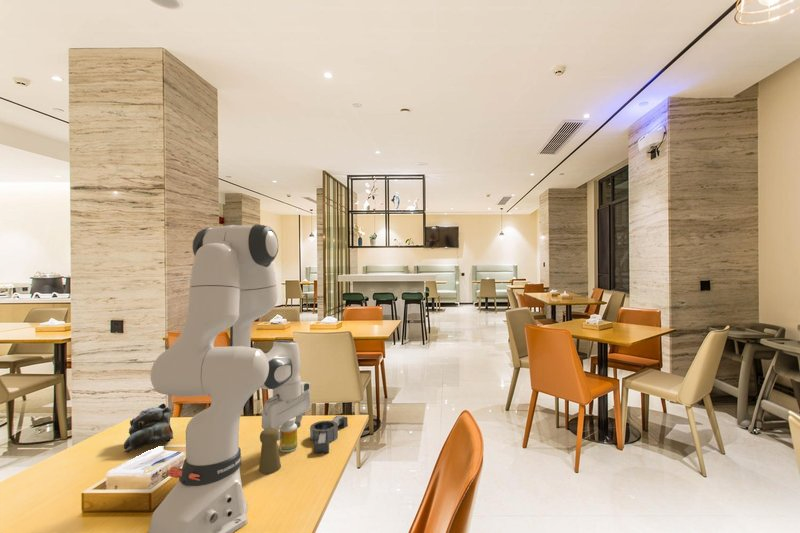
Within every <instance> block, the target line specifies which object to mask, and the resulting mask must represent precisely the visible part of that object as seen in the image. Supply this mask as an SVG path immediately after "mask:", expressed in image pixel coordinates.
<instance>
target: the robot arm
mask: <svg viewBox="0 0 800 533" xmlns="http://www.w3.org/2000/svg"><path fill="white" fill-rule="evenodd" d="M191 248H192V252H193V256H194V258H193V261H192V262H193V263H192V268H191V274H190V281H189V293H188V295H189V296H188V305H187V311H186V312H187V314H186V319H185V323H184V324H183V328H182V330H181V331H180V334H179V335H178V336H177V338H176V340H175V341H174V342H173V343H172V345H171V346H170V347H168V348H167V349H166V350H164V351H163V352H161V354H159V355H158V357H157V358H156V359H155V361H154V363H153V364H152V365H151V369H150V374H149V375H150V376H149V377H150V382H151V386H152V387H153V389H154V390H155V391H156V392H157V393H159V394H162V395H168V396H173V397H180V398H181V397H203V396H208V397H210V406H209V407H207V408H205V409H203V410H201V411H200V412H198V413H196V414H195V415H194V416H192V418H191V419H189V421H188V423H187V425H186V429H185V458H184V460H183V464H182V467H181V468H180V467H177V466H172V467H170V468H169V471H168V477H169V478H175V479H178V481H177V482H176V483H175V485H174V486H173V487H172V488H171V490H170V491H169V492H168V494H167V495H166V496H165V497H164V499H163V500H162V501H161V502H160V504H159V505H158V506H157V507H156V509H154V511H153V513H152V515H151V517H150V518H151V519H150V522H149V530H148V532H147V533H234V532H236V531H237V530H239V529H241V528H242V527H243V526H245V525H246V524H247V523H248V517H247V511H248V503H247V500H246V498H245V495H244V490H243V483H242V479H241V470H240V469H241V468H240V467H241V465H242V452H241V448H240V447H239V446H240V444H239V442H240V441H239V437H240V435H239V434H240V433H239V432H240V421H241V420H240V419H241V414H242V412H243V410H244V407H245V405H246V403H247V401H249V399H250V398H251V397H252V396H253V395H254V394H255V393H256V392H257V391H259V390H260V389H264V390H272V397H269V398H267V399H266V402H265V403H264V405H263V407H262V413H261V428H262V429H263V430H265V429H269V428H274V429H277V431H278V433H279V437H278V440H277V442H278V441H279V442H280V439H282V433H280V427H281V425H283V424H284V423H286V422H288V421H289V420H291V419H293V418H295V424H296V425H297V429H299V428H301V426H302V419H303V416H304V412H306V411H308V410H309V409H310V407H311V403H312V402H311V399H312V398H311V397H312V396H311V391H310V390H311V386H312V385H311V384H312V383H311V382H307V381H302V378H301V375H300V374H301V373H300V372H301V371H300V370H301V363H302V362H301V352H300V346H299V344H298V342H297V341H295V340H287V339H285V340H284V339H278V340H275V341H273V344H272V348H271V349H270V350H269V351H268V352H266V353H265V352H264V351H263V350H262V349H260V348H256V347H251V342H252V341H251V334H252V333H251V332H252V331H251V330H252V326H253V323H254V322H255V321H257V320H258V319H259V318H262V317H263V316H266V315H267V314H269V313H270V312H271V311H273V309H274V308H275V307H276V306H277V305H276V304H277V302H278V288H277V287H278V286H277V279H276V272H275V270H274V269H275V268H274V264H273V261H274V260H276V258H277V255H278V252H279V241H278V237H277V234H276V232H275V231H274V230H273V229H272V228H271V227H270V226H268V225H264V224H254V225H250V224H248V225H243V224H242V225H241V224H240V225H239V224H238V225H237V224H228V225H222V226H215V227H211V226H210V227H206V228H204V229H200V230H199V231H198V232H197V233H196V235H195V237H194V238H193V241H192V247H191ZM228 329H229V330H230V331H229V346H214V344H215V341H216V339H217V337H218V335H219V334H220V333H223V332H224V331H226V330H228Z"/></svg>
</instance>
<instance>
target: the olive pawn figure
mask: <svg viewBox="0 0 800 533" xmlns="http://www.w3.org/2000/svg"><path fill="white" fill-rule="evenodd" d="M278 437H279V433H278V431H277V429H274V428H269V429H265V430H264V429H263V430H262V431H261V432H260V435H259V441H260V443H261V449H260V458H259V467H258V472H259V473H260V474H263V475H268V474H273V473H276V472H278V471H279V470H281V468H282V465H281V458H280V452H279V446H278V441H277V440H278Z"/></svg>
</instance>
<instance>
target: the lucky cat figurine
mask: <svg viewBox="0 0 800 533" xmlns="http://www.w3.org/2000/svg"><path fill="white" fill-rule="evenodd" d="M171 410H172V408H171V407H170V406H166V404H165V403H161V404H160V405H158V406H153V407H149V408H146V409H144V410H141V411H140V413H139V414H138V415H137V416H136V417H133V418H132V419H130V420H129V426H130V427H129V429H128V434H129V436H128V437H127V439H126V440H125V441H124V443H123V449H124V451H123V453H126V452H128V453H129V452H132V451H135V450H137V449H140V448H143V447H146V446H151V445H154V444H158V443H162V442H170V441H172V439H174V433H173V430H172V427H171V415H172V411H171Z"/></svg>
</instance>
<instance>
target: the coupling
mask: <svg viewBox="0 0 800 533" xmlns="http://www.w3.org/2000/svg"><path fill="white" fill-rule="evenodd" d="M348 423H349V422H348V417H347V416H345V415H343V414H342V415H341V414H338V415H336V416H335V417H333V418H332V419H331V420H320V421H317V422H314V423H312V424H310V426H309V427H310V428H309V434H310V435H309V436H310V441H311V442H312V443H313V444H314V445H313V447H314V448H313V449H314V451H313V452H314V454H313V455H319V454H330V453H329V452H330V443H332V442H334V441H336V440H338V436H339V435H338V434H339V429H338V428H342V429H345V428H346V427H347V426H348Z"/></svg>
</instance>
